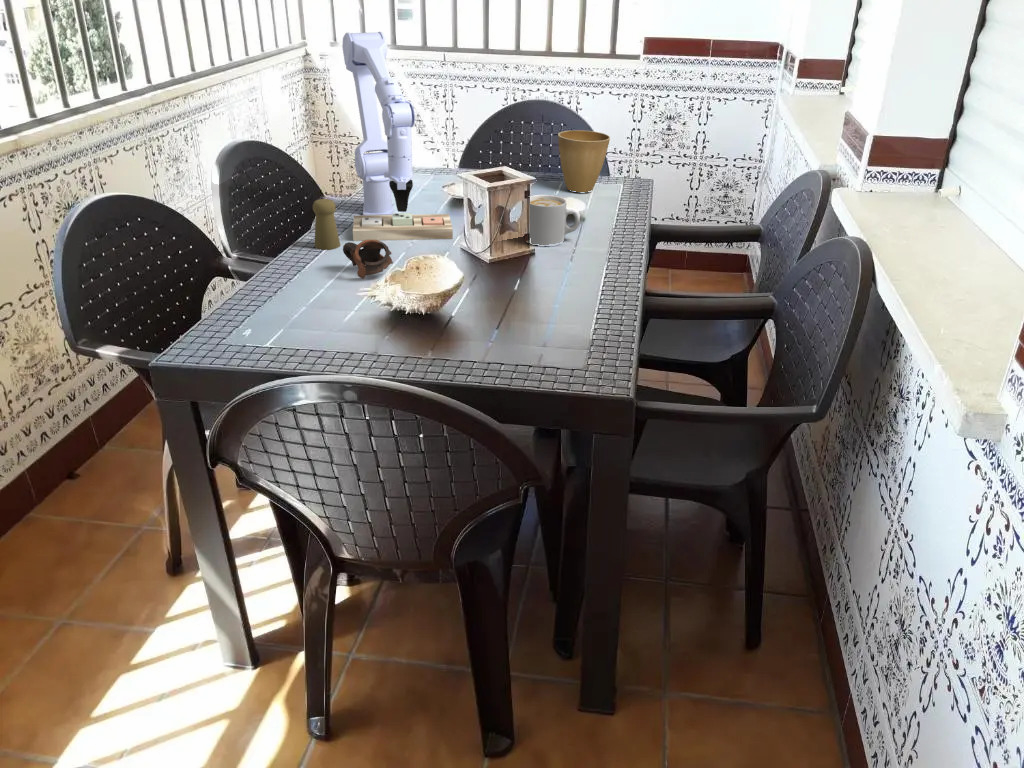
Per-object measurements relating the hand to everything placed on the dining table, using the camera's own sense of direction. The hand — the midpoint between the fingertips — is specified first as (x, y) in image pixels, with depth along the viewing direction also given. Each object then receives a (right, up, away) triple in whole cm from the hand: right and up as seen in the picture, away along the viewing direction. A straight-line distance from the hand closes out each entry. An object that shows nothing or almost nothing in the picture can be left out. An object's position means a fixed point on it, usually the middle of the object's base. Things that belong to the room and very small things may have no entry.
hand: (402, 210), depth 202 cm
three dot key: (0, -5, +3) cm, 5 cm away
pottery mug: (-5, -18, -21) cm, 28 cm away
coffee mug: (+37, -8, 0) cm, 38 cm away
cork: (-17, -10, -7) cm, 21 cm away
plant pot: (+47, +14, +40) cm, 64 cm away
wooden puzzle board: (0, -5, +3) cm, 5 cm away
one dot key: (+7, -5, +4) cm, 10 cm away
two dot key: (-8, -6, +2) cm, 10 cm away
